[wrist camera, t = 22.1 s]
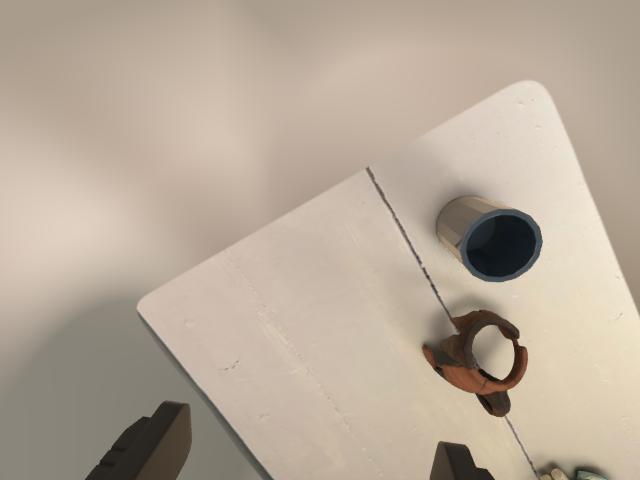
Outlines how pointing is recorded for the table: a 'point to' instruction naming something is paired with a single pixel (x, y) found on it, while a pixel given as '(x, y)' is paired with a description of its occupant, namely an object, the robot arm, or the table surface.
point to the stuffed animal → (582, 479)
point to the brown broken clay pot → (466, 374)
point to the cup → (489, 238)
